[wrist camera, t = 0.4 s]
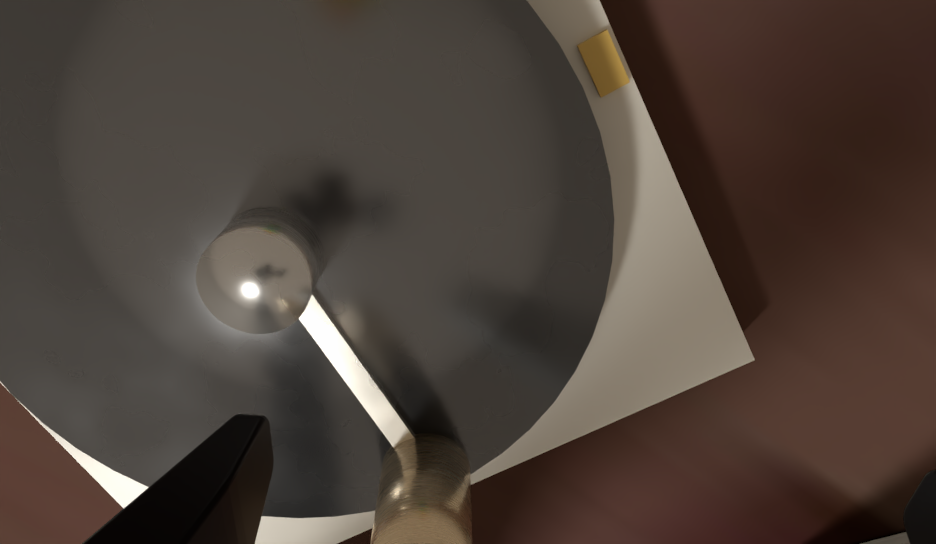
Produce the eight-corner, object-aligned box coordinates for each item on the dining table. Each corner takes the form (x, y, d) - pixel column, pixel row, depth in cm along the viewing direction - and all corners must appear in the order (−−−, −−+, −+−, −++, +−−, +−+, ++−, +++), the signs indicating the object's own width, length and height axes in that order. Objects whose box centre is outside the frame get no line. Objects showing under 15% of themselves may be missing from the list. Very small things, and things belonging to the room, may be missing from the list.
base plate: (223, 568, 29) (210, 602, 27) (-240, 79, 20) (-297, 88, 19) (738, 338, 25) (757, 363, 23) (418, -393, 16) (415, -431, 15)
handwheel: (-218, 111, 19) (-501, 170, 13) (391, -315, 16) (354, -478, 10) (224, 575, 27) (162, 739, 21) (706, 360, 23) (788, 488, 17)
